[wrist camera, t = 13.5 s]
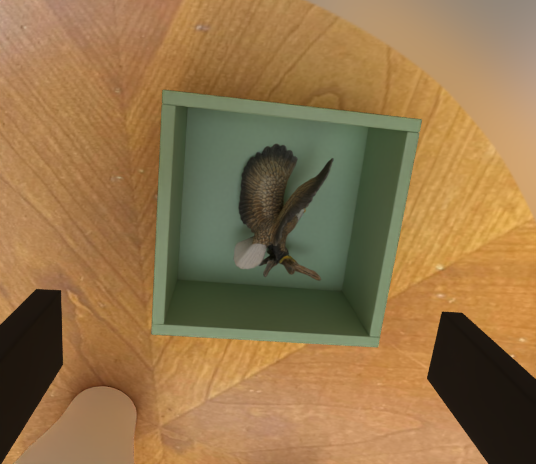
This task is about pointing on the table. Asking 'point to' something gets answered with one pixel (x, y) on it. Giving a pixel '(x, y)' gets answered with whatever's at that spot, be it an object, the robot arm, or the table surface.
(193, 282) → the bin
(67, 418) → the cup
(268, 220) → the eagle figurine
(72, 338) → the table surface
